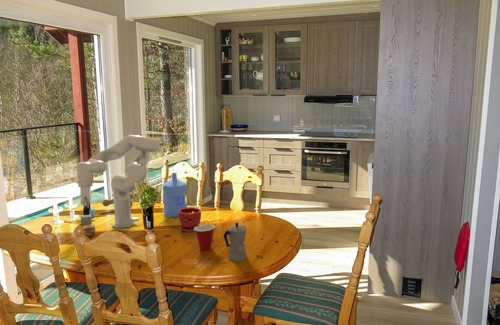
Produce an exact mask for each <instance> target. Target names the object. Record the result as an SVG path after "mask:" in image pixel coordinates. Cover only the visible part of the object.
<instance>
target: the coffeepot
mask: <svg viewBox="0 0 500 325" xmlns="http://www.w3.org/2000/svg"><path fill="white" fill-rule="evenodd" d="M246 234H247V226H246V225H239V222H235V224H234V225H232V226H229V227H228V228H227V230H225V231H224V233H223V239H224V241H225V244H226V247H227V248H229V249H228V255H227V257H228V260H231V261H233V262H234V261H237V262H240V261H244V260H246V258H247V251H246V246H245V241H246ZM229 242H230V243H229Z"/></svg>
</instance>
